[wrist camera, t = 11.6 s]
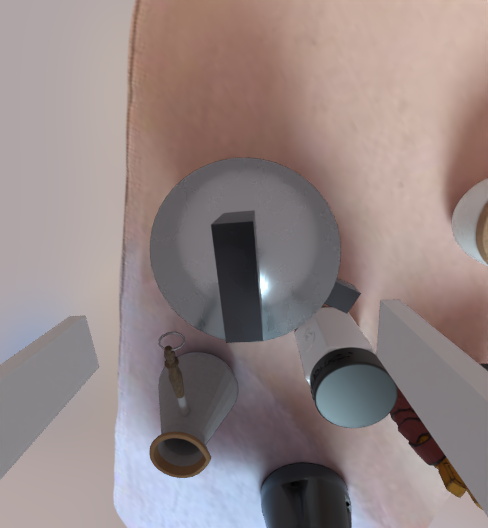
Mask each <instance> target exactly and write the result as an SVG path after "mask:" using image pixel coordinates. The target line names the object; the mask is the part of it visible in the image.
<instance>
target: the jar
mask: <svg viewBox="0 0 488 528" xmlns="http://www.w3.org/2000/svg"><path fill="white" fill-rule="evenodd" d="M295 337H296V341H297V345H298V349H299V353H300V358H301V362H302V366H303V370H304V375H305V378H306V380H307V382H308V383H309V384H310V386H311V393H312V397H313V400H314V402H315V405H316V408H317V410H318V411H319V413H320V414H321V415H322V416H323V417H324V418H325V419H326V420H328V421H329V422H331V423H333V424H335V425H338V426H341V427H346V428H361V427H366V426H369V425H372V424H375V423H377V422H379V421H380V420H382V419H383V418H385V417H386V416H387V415H388V414H389V413H390V412H391V411H392V409H393V408H394V406H395V404H396V401H397V397H398V388H397V385H396V383H395V382H394V380H393V379H392V378H391V376H390V375H389V373H388V372H387V370H386V369H385V367H384V366H383V365H382V363H381V362H380V360H379V359H378V357H377V354H376V352H375V350H374V349H373V347H372V346H371V344H370V343H369V341H368V340H367V338H366V337H365V335H364V334H363V332H362V331H361V330H360V328H359V327H358V325H357V324H356V322H355V321H354V319H353V318H352V316H351V315H350V313H349V312H348V313H347V314H346V313H344V312H342V311H340V310H338V309H336V308H333V307H321V308H320V309H319V310H318V311H317V312H316V313H315V314H314V316H312V317H311V318H310V319H309V320H308V321H307V322H305V323H304V324H303V325H301V326H300V327H298V328H297V330H296V331H295Z"/></svg>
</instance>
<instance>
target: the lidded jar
mask: <svg viewBox="0 0 488 528" xmlns="http://www.w3.org/2000/svg"><path fill="white" fill-rule="evenodd" d="M451 224H452V232H453V236H454V238H455V241H456V242H457V244H458V245H459V247H460V248H461V249H462V250H463V251H464V252H465V253H466V254H467V255H469V256H470V257H472V258H473V259H475V260H476V261H478V262H480V263H481V264H484V265H486V266H488V178H486V179H484V180H483V181H481V182H479V183H477V184H476V185H475V186H473V187H472V188H471V189H470V190H469V191H468V192H466V193H465V194H464V196H463V197H462V198H461V199H460V201H459V202H458V204H457V205H456V208H455V210H454V212H453V216H452V222H451Z"/></svg>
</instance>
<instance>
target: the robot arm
mask: <svg viewBox="0 0 488 528" xmlns="http://www.w3.org/2000/svg"><path fill="white" fill-rule="evenodd" d="M377 357H378V359H379V360H380V362H381V363H382V365H383V366H384V367H385V369H386V370H387V372H388V373H389V375H390V376H391V378H392V379H393V380H394V382H395V383H396V385H397V386H398V388H399V389H400V391H401V392H402V393H403V395H404V396H405V398H406V399H407V401H408V402H409V404H410V405H411V406H412V408H413V409H414V411H415V412H416V414H417V415H418V417H419V418H420V419H421V421H422V422H423V424H424V425H425V427H426V428H427V430H428V431H429V433H430V434H431V435H432V437H433V438H434V440H435V441H436V443H437V444H438V446H439V447H440V448H441V450H442V451H443V453H444V454H445V456H446V457H447V459H448V460H449V461H450V463H451V464H452V466H453V467H454V469H455V470H456V472H457V473H458V474H459V476H460V477H461V479H462V480H463V482H464V483H465V485H466V486H467V487H468V489H469V490H470V492H471V493H472V495H473V496H474V498H475V499H476V500H477V502H478V503H479V505H480V506H481V508H482V509H483V511H484V512H485V513H486V515H487V516H488V364H478V363H477V362H476V361H475V360H474V359H472V358H471V357H470V356H469V355H467V354H466V353H465V352H464V351H462V350H461V349H460V348H459V347H457V346H456V345H455V344H454V343H453V342H451V341H450V340H449V339H448V338H446V337H445V336H444V335H443V334H441V333H440V332H439V331H438V330H437V329H435V328H434V327H433V326H432V325H430V324H429V323H428V322H427V321H425V320H424V319H423V318H422V317H421V316H419V315H418V314H417V313H416V312H414V311H413V310H412V309H411V308H409V307H408V306H407V305H406V304H404V303H403V302H402V301H401V300H400V299H393V300H380V313H379V329H378V344H377ZM98 368H99V364H98V360H97V356H96V353H95V349H94V345H93V342H92V339H91V335H90V331H89V327H88V324H87V320H86V317H85V316H70V317H68V318H67V319H65V320H64V321H62V322H61V323H60V324H58V325H57V326H55V327H54V328H52V329H51V330H49V331H48V332H47V333H45V334H44V335H42V336H41V337H39V338H38V339H37V340H35V341H34V342H32V343H31V344H29V345H28V346H27V347H25V348H24V349H22V350H21V351H19V352H18V353H17V354H15V355H14V356H12V357H11V358H9V359H8V360H6V361H5V362H4V363H2V364H1V365H0V480H1V479H2V477H3V476H4V475H5V474H6V473H7V472H8V471H9V469H10V468H11V467H12V466H13V465H14V463H16V461H17V460H18V459H19V458H20V457H21V456H22V455H23V453H24V452H25V451H26V450H27V449H28V448H29V447H30V445H31V444H32V443H33V442H34V441H35V440H36V439H37V437H38V436H39V435H40V434H41V433H42V432H43V430H44V429H45V428H46V427H47V426H48V425H49V424H50V422H51V421H52V420H53V419H54V418H55V417H56V416H57V415H58V413H59V412H60V411H61V410H62V409H63V408H64V407H65V405H66V404H67V403H68V402H69V401H70V400H71V398H72V397H73V396H74V395H75V394H76V393H77V392H78V391H79V389H80V388H81V387H82V386H83V385H84V384H85V383H86V381H87V380H88V379H89V378H90V377H91V376H92V375H93V373H94V372H95V371H96V370H97V369H98ZM261 507H262V513H263V516H264V519H265V523H266V527H267V528H351V501H350V498H349V494H348V491H347V487H346V485H345V483H344V481H343V480H342V478H341V477H340V476H339V475H338V474H336V473H335V472H333V471H332V470H330V469H328V468H326V467H323V466H320V465H316V464H308V463H299V464H292V465H288V466H284V467H282V468H279V469H278V470H276V471H274V472H273V473H271V474H270V475H269V476H268V477H267V478H266V480H265V481H264V483H263V485H262V489H261Z"/></svg>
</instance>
